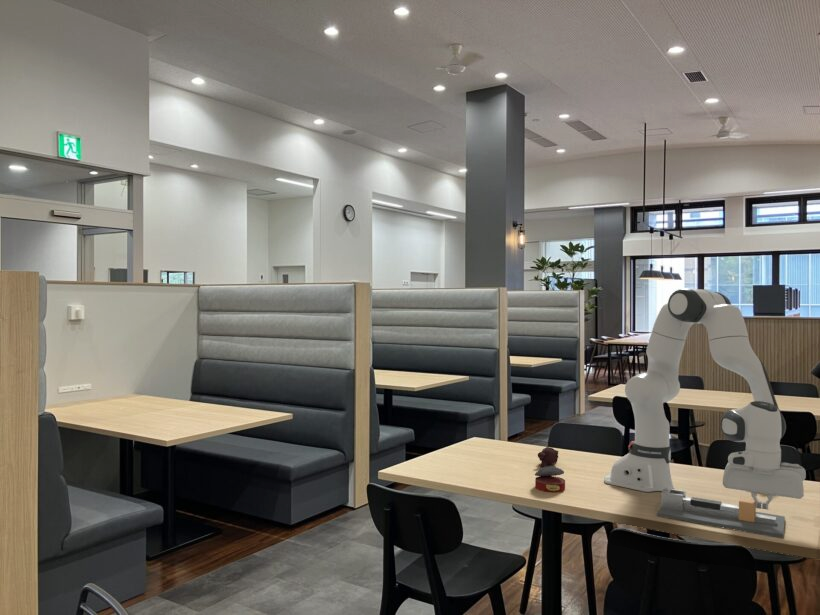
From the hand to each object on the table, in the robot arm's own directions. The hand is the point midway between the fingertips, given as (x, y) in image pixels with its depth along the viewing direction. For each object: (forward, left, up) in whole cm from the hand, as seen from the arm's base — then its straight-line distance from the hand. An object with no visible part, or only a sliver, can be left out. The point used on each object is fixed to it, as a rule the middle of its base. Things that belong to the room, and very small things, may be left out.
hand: (761, 508), depth 182 cm
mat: (-10, 0, -5) cm, 12 cm away
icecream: (-74, +32, -5) cm, 81 cm away
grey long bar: (-11, 0, -4) cm, 12 cm away
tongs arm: (-13, 0, -2) cm, 13 cm away
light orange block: (-4, 0, -3) cm, 5 cm away
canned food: (-62, +1, -5) cm, 63 cm away
